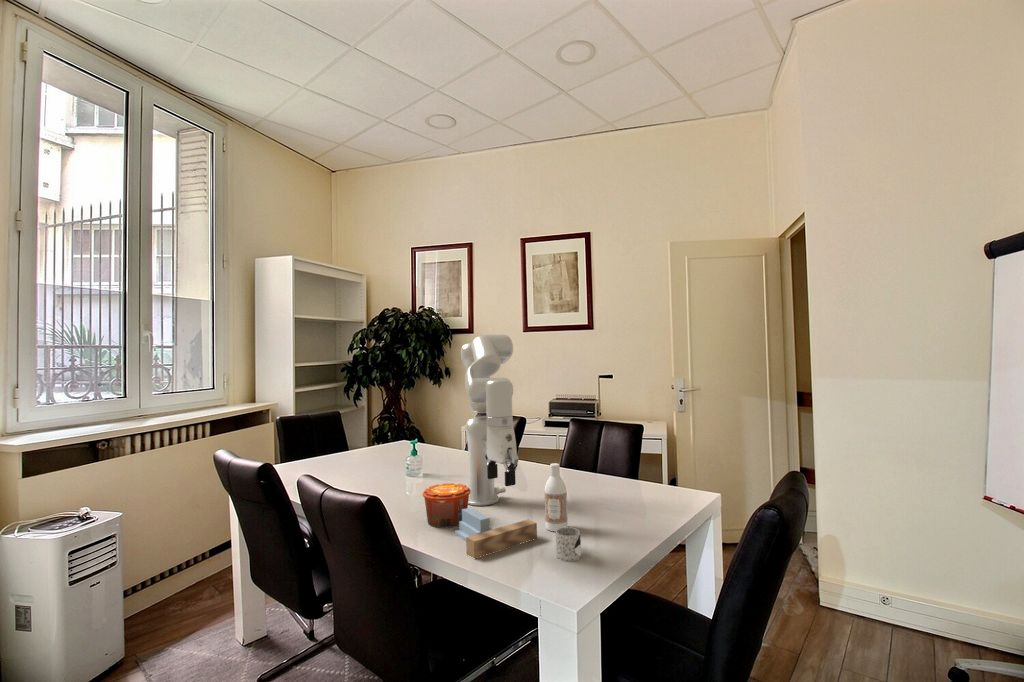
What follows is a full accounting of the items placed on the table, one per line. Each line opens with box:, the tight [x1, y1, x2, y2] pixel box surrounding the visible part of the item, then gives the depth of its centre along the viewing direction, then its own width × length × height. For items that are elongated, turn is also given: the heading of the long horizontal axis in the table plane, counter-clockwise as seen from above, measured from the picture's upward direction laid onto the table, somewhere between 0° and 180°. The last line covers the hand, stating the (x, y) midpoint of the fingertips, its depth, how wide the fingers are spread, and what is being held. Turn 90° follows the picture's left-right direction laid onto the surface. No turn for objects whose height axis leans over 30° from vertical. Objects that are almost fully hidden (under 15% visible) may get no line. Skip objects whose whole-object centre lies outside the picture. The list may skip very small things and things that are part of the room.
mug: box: [555, 526, 582, 562], centre depth 131 cm, size 10×7×7 cm, turn 171°
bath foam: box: [544, 462, 569, 533], centre depth 150 cm, size 7×7×20 cm
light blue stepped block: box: [454, 507, 493, 541], centre depth 144 cm, size 8×12×7 cm, turn 33°
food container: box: [422, 482, 471, 529], centre depth 159 cm, size 16×16×11 cm
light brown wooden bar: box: [465, 519, 538, 559], centre depth 137 cm, size 22×4×5 cm, turn 126°
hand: (501, 481), depth 137 cm, fingers open, 9 cm apart
